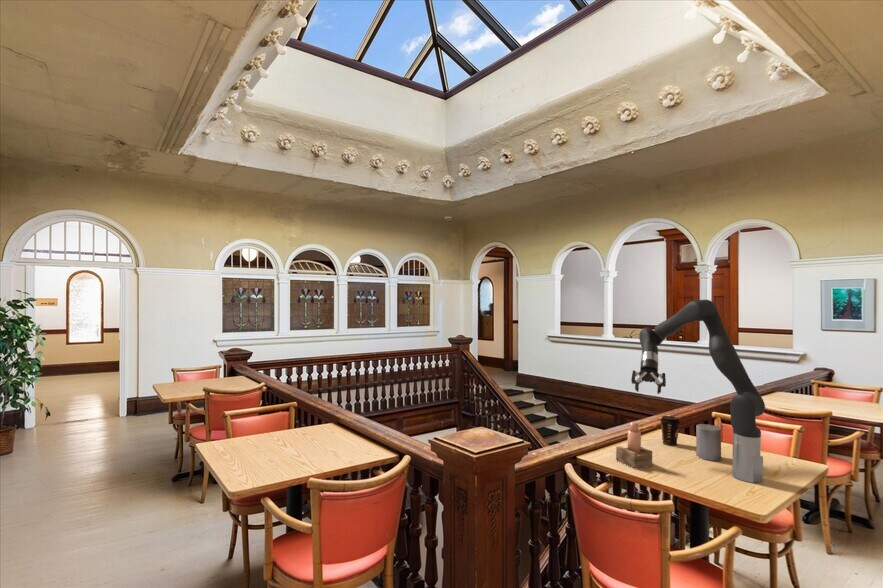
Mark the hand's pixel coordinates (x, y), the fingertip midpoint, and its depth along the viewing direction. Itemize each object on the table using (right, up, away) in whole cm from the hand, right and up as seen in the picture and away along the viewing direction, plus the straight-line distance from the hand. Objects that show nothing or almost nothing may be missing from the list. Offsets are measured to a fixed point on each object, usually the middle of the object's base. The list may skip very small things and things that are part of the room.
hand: (647, 391), depth 206 cm
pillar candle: (+27, -29, 0) cm, 40 cm away
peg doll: (-10, -23, -10) cm, 27 cm away
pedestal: (-10, -28, -10) cm, 32 cm away
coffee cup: (+19, -29, +18) cm, 39 cm away
